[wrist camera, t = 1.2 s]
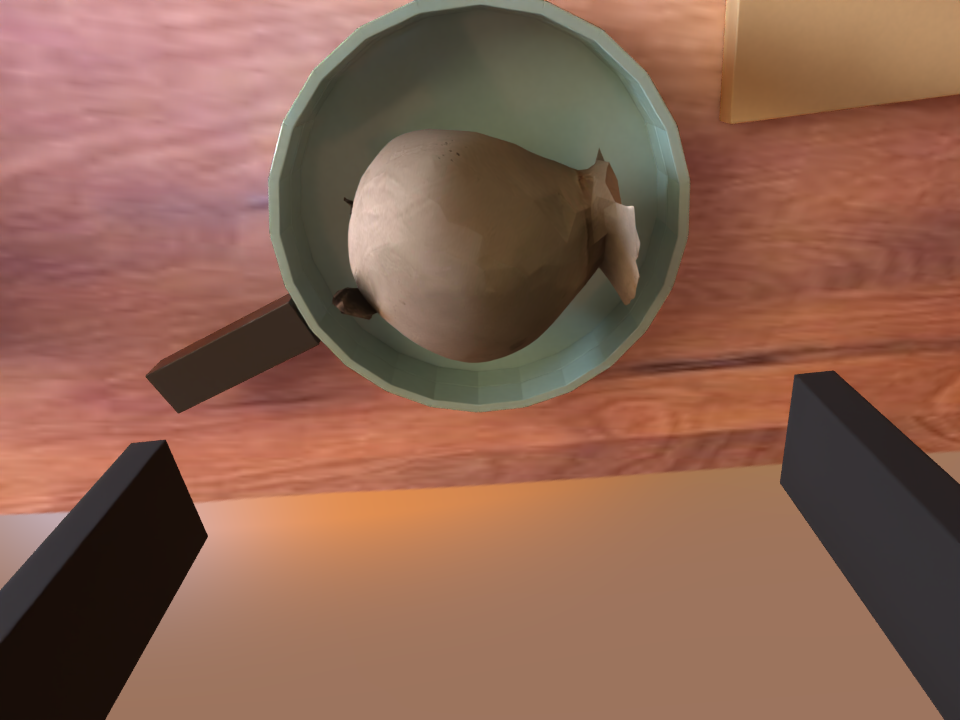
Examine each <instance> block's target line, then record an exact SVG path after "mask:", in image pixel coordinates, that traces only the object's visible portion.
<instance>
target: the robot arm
mask: <svg viewBox="0 0 960 720" xmlns="http://www.w3.org/2000/svg"><path fill="white" fill-rule="evenodd" d="M780 484H781V485H782V486H783V488H784V489H785V491H786V492H787V494H788V495H789V497H790V498H791V499H792V501H793V502H794V504H795V505H796V507H797V508H798V509H799V511H800V512H801V514H802V515H803V517H804V518H805V520H806V521H807V522H808V524H809V525H810V527H811V528H812V530H813V531H814V533H815V534H816V535H817V537H818V538H819V540H820V541H821V542H822V544H823V546H824V547H825V548H826V550H827V551H828V553H829V554H830V556H831V557H832V558H833V560H834V561H835V563H836V564H837V566H838V567H839V569H840V570H841V571H842V573H843V574H844V576H845V577H846V578H847V580H848V582H849V583H850V584H851V586H852V587H853V589H854V590H855V592H856V593H857V595H858V596H859V597H860V599H861V600H862V602H863V603H864V604H865V606H866V607H867V609H868V610H869V612H870V613H871V615H872V616H873V617H874V619H875V620H876V622H877V623H878V625H879V626H880V628H881V629H882V630H883V632H884V633H885V635H886V636H887V638H888V639H889V641H890V642H891V643H892V645H893V646H894V648H895V649H896V651H897V652H898V653H899V655H900V656H901V658H902V659H903V661H904V662H905V663H906V665H907V666H908V668H909V669H910V671H911V672H912V674H913V675H914V677H915V678H916V679H917V681H918V682H919V684H920V685H921V687H922V688H923V690H924V691H925V692H926V694H927V695H928V697H929V698H930V700H931V701H932V702H933V704H934V705H935V707H936V708H937V710H938V711H939V713H940V714H941V715H942V717H943V718H944V720H960V484H959V483H958V482H957V481H955V480H954V479H953V478H952V477H951V476H950V475H949V474H948V473H947V472H945V471H944V470H943V469H942V468H941V467H940V466H939V465H938V464H937V463H935V462H934V461H933V460H932V459H931V458H930V457H929V456H928V455H927V454H926V453H924V452H923V451H922V450H921V449H920V448H919V447H918V446H917V445H916V444H914V443H913V442H912V441H911V440H910V439H909V438H908V437H907V436H906V435H905V434H903V433H902V432H901V431H900V430H899V429H898V428H897V427H896V426H895V425H893V424H892V423H891V422H890V421H889V420H888V419H887V418H886V417H885V416H883V415H882V414H881V413H880V412H879V411H878V410H877V409H876V408H875V407H874V406H872V405H871V404H870V403H869V402H868V401H867V400H866V399H865V398H864V397H862V396H861V395H860V394H859V393H858V392H857V391H856V390H855V389H854V388H852V387H851V386H850V385H849V384H848V383H847V382H846V381H845V380H844V379H843V378H841V377H840V376H839V375H838V374H837V373H836V372H835V371H825V372H815V373H805V374H796V375H795V376H794V383H793V390H792V398H791V405H790V412H789V420H788V427H787V435H786V442H785V449H784V457H783V464H782V471H781V479H780ZM207 537H208V535H207V533H206V531H205V529H204V526H203V524H202V522H201V520H200V517H199V515H198V512H197V510H196V508H195V506H194V503H193V501H192V499H191V496H190V494H189V492H188V490H187V487H186V485H185V483H184V480H183V478H182V476H181V474H180V471H179V469H178V467H177V464H176V462H175V460H174V458H173V455H172V453H171V451H170V449H169V446H168V444H167V442H166V440H158V441H149V442H139V443H131V444H130V445H129V446H128V447H127V449H126V450H125V451H124V452H123V453H122V454H121V455H120V456H119V458H118V459H117V460H116V461H115V462H114V463H113V464H112V465H111V467H110V468H109V469H108V470H107V471H106V472H105V473H104V474H103V476H102V477H101V478H100V479H99V480H98V481H97V482H96V483H95V484H94V486H93V487H92V488H91V489H90V490H89V491H88V492H87V493H86V495H85V496H84V497H83V498H82V499H81V500H80V501H79V502H78V504H77V505H76V506H75V507H74V508H73V509H72V510H71V511H70V513H69V514H68V515H67V516H66V517H65V518H64V519H63V520H62V522H61V523H60V524H59V525H58V526H57V527H56V528H55V530H54V531H53V532H52V533H51V534H50V535H49V536H48V537H47V538H46V539H45V541H44V542H43V543H42V544H41V545H40V546H39V547H38V548H37V550H36V551H35V552H34V553H33V554H32V555H31V556H30V557H29V559H28V560H27V561H26V562H25V563H24V564H23V565H22V567H21V568H20V569H19V570H18V571H17V572H16V573H15V574H14V576H13V577H12V578H11V579H10V580H9V581H8V582H7V583H6V584H5V585H4V587H3V588H2V589H1V590H0V720H105V719H106V717H107V715H108V713H109V712H110V710H111V708H112V706H113V705H114V703H115V701H116V699H117V698H118V696H119V694H120V692H121V690H122V689H123V687H124V685H125V683H126V682H127V680H128V678H129V676H130V674H131V673H132V671H133V669H134V667H135V666H136V664H137V662H138V660H139V658H140V657H141V655H142V653H143V651H144V649H145V648H146V646H147V644H148V642H149V640H150V639H151V637H152V635H153V634H154V632H155V630H156V628H157V626H158V625H159V623H160V621H161V619H162V617H163V616H164V614H165V612H166V610H167V608H168V607H169V605H170V603H171V601H172V600H173V598H174V596H175V594H176V593H177V591H178V589H179V587H180V585H181V584H182V582H183V580H184V578H185V577H186V575H187V573H188V571H189V569H190V568H191V566H192V564H193V562H194V560H195V559H196V557H197V555H198V553H199V552H200V549H201V548H202V546H203V545H204V543H205V541H206V539H207Z"/></svg>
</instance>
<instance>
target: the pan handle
mask: <svg viewBox="0 0 960 720" xmlns="http://www.w3.org/2000/svg"><path fill="white" fill-rule="evenodd" d="M320 341H321V340H320V339H319V338H318V337H317V336H316V335H315V334H314V333H313V332H312V329H310V328H309V326H308V324H307V323H306V321H305V319H304V318H303V316H302V314H301V313H300V311H299V309H298V307H297V306H296V304H295V302H294V301H293V299H292V297H291V296H290V294H287V295H285V296H283V297H282V298H280V299H278V300H276V301H274V302H272V303H270V304H268V305H266V306H264V307H262V308H260V309H258V310H257V311H255V312H253V313H251V314H249V315H247V316H245V317H243V318H241V319H239V320H237V321H235V322H233V323H232V324H230V325H228V326H226V327H224V328H222V329H220V330H218V331H216V332H214V333H212V334H210V335H208V336H207V337H205V338H203V339H201V340H199V341H197V342H195V343H193V344H191V345H189V346H187V347H185V348H184V349H182V350H180V351H178V352H176V353H174V354H172V355H170V356H168V357H166V358H164V359H162V360H161V361H160V362H159V363H158V364H157V365H156V366H155V367H154V368H153V369H152V370H151V371H150V372H149V373H148V374H147V375H146V378H147V379H148V380H149V381H150V382H151V383H152V385H153V386H154V387H155V388H156V389H157V390H158V391H159V392H160V394H161V395H162V396H163V397H164V398H165V399H166V400H167V402H168V403H169V404H170V405H171V406H172V407H173V408H174V409H175V411H176V412H177V413H181V412H183V411H185V410H187V409H189V408H191V407H193V406H195V405H197V404H199V403H201V402H203V401H205V400H207V399H209V398H211V397H213V396H215V395H217V394H219V393H221V392H223V391H225V390H228V389H230V388H232V387H234V386H236V385H238V384H240V383H242V382H244V381H246V380H248V379H250V378H252V377H254V376H256V375H258V374H260V373H262V372H264V371H266V370H268V369H270V368H272V367H274V366H276V365H278V364H280V363H282V362H284V361H286V360H288V359H290V358H292V357H295V356H297V355H299V354H301V353H303V352H305V351H307V350H309V349H311V348H313V347H315V346H317V345H319V343H320Z"/></svg>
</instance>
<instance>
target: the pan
mask: <svg viewBox="0 0 960 720" xmlns="http://www.w3.org/2000/svg"><path fill="white" fill-rule="evenodd" d="M423 129H442V130H459V131H471V132H478V133H481V134H484V135H488V136H491V137H494V138H498V139H501V140H504V141H507V142H511V143H514V144H516V145H518V146H520V147H522V148H524V149H526V150H528V151H530V152H532V153H534V154H537V155H539V156H542V157H544V158H548V159H551V160H554V161H556V162H559V163H561V164H564V165H566V166H568V167H571V168H574V169H577V170H584V169H588V168H589V167H591V166H592V165H594V164H595V162H596V158H597V154H598V150H599V148H600V151H601V153H602V156H603V158H604V161H606V162H609V163H610V165H611V167H612V169H613V171H614V173H615V175H616V178H617V180H618V186H619V192H620V198H621V204H622V205H624V206H634V212H635V226H636V231H637V234H638V237H639V240H640V248H639V256H638V258H637V259H636V264H637V268H638V272H639V275H640V278H639V281H638V284H637V288H636V295H635V298H634V299H631V301H630V304H627V305H624V303H623V302H622V300H621V298H620V297H619V295H618V293H617V292H616V290H615V288H614V287H613V285H612V284H611V282H610V281H609V280H608V278H607V277H606V276H605V274H604V273H603V272H602V271H601V269H600V268H598V269H597V271H596V272H595V273H594V274H593V276H592V277H591V278H590V280H589V281H588V282H587V284H586V285H585V286H584V287H583V288H582V289H581V291H580V292H579V293H578V294H577V295H576V297H575V298H574V299H573V300H572V301H571V303H570V304H569V305H568V306H567V307H566V309H565V310H564V311H563V312H562V313H561V315H560V316H559V317H558V318H557V319H556V320H555V322H554V323H553V324H552V325H551V326H550V327H549V328H548V329H547V330H546V331H545V332H544V333H543V334H542V335H541V336H540V337H539V338H538V339H536V340H535V341H534V342H532V343H531V344H529V345H528V346H526V347H525V348H523V349H521V350H519V351H517V352H515V353H513V354H510V355H508V356H506V357H503V358H499V359H496V360H492V361H488V362H481V363H467V362H461V361H456V360H451V359H448V358H445V357H443V356H440V355H438V354H435V353H433V352H431V351H429V350H427V349H425V348H423V347H421V346H420V345H418V344H416V343H415V342H413V341H412V340H410V339H409V338H407V337H406V336H404V335H403V334H402V333H401V332H400V331H398V330H397V329H396V328H394V327H393V326H392V325H391V324H389V323H388V322H387V321H386V320H385V319H383V318H382V317H381V316H380V315H379V314H378V313H376V314H374V315H372V318H371V319H370V320H368V319H363V318H359V317H355V316H350V315H346V314H341V312H340V310H339V309H338V308H337V307H336V306H335V305H333V304H332V300H333V296H334V295H335V293H336V292H337V291H339V290H341V289H344V288H347V287H349V288H358V287H357V284H356V281H355V278H354V276H353V273H352V270H351V266H350V261H349V250H348V230H349V222H350V218H351V214H350V205H348V204H347V203H346V202H345V201H344V197H345V198H346V199H348V200H352V201H354V198H355V195H356V191H357V188H358V185H359V183H360V180H361V178H362V176H363V174H364V173H365V171H366V170H367V168H368V167H369V165H370V164H371V163H372V161H373V160H374V159H375V157H376V156H377V155H378V154H379V153H380V151H381V150H382V149H383V148H384V147H385V146H386V145H387V144H388V143H389V142H390V141H391V140H393V139H394V138H396V137H398V136H400V135H402V134H404V133H408V132H412V131H416V130H423ZM268 178H269V179H268V196H269V233H270V238H271V241H272V244H273V248H274V251H275V255H276V258H277V261H278V265H279V268H280V272H281V275H282V278H283V282H284V285H285V287H286V289H287V291H288V292H289V294H290V296H291V297H292V299H293V301H294V302H295V304H296V306H297V307H298V309H299V311H300V313H301V314H302V316H303V318H304V319H305V321H306V323H307V324H308V326H309V328H310V329H312V332H313V333H314V334H315V335H316V336H317V337H318V338H319V339H320V340H321V341H322V342H323V343H324V344H325V345H326V346H327V347H328V348H329V349H330V350H331V351H332V352H333V353H334V354H335V355H336V356H337V357H338V358H339V359H340V360H341V361H342V362H343V363H344V364H345V365H346V366H347V367H349V368H350V369H352V370H354V371H355V372H357V373H358V374H360V375H361V376H363V377H365V378H366V379H368V380H369V381H371V382H373V383H374V384H376V385H377V386H379V387H380V388H382V389H384V390H385V391H387V392H390V393H392V394H395V395H398V396H401V397H404V398H407V399H410V400H412V401H415V402H418V403H421V404H424V405H427V406H430V407H435V408H444V409H452V410H461V411H470V412H488V411H497V410H506V409H515V408H524V407H528V406H531V405H534V404H537V403H540V402H543V401H545V400H548V399H551V398H554V397H557V396H560V395H563V394H566V393H569V392H571V391H573V390H574V389H576V388H577V387H579V386H581V385H582V384H584V383H586V382H587V381H589V380H590V379H592V378H594V377H595V376H597V375H598V374H600V373H602V372H603V371H605V370H606V369H608V368H610V367H611V366H612V365H613V364H614V363H615V362H616V361H617V360H618V359H619V358H620V357H621V356H622V355H623V354H624V353H625V352H626V351H627V350H628V349H629V348H630V347H631V346H632V345H633V344H634V343H635V342H636V341H637V340H638V339H639V338H640V337H641V336H642V335H643V334H644V333H645V332H646V331H647V329H648V328H649V326H650V324H651V323H652V321H653V319H654V318H655V316H656V314H657V313H658V311H659V309H660V308H661V306H662V305H663V303H664V301H665V300H666V298H667V296H668V295H669V293H670V291H671V290H672V287H673V285H674V282H675V279H676V275H677V272H678V269H679V266H680V262H681V259H682V256H683V252H684V249H685V246H686V243H687V239H688V233H689V206H690V177H689V173H688V168H687V164H686V160H685V156H684V152H683V147H682V143H681V139H680V135H679V130H678V126H677V124H676V122H675V120H674V118H673V117H672V115H671V113H670V111H669V110H668V108H667V106H666V104H665V102H664V101H663V99H662V97H661V95H660V94H659V92H658V90H657V88H656V87H655V85H654V83H653V81H652V79H651V78H650V76H649V74H648V73H647V71H646V70H645V69H644V68H643V67H641V66H640V65H639V64H638V63H637V62H636V61H635V60H634V59H633V58H632V57H631V56H630V55H629V54H628V53H627V52H626V51H625V50H624V49H623V48H622V47H621V46H620V45H619V44H618V43H616V42H615V41H614V40H613V39H612V38H611V37H610V36H609V35H608V34H607V33H606V32H605V31H604V30H602V29H601V28H599V27H597V26H595V25H593V24H591V23H589V22H587V21H585V20H583V19H581V18H579V17H577V16H575V15H573V14H571V13H569V12H568V11H566V10H564V9H562V8H560V7H558V6H556V5H554V4H552V3H550V2H548V1H544V0H414V1H412V2H410V3H408V4H406V5H404V6H402V7H399V8H397V9H395V10H393V11H391V12H389V13H387V14H385V15H383V16H381V17H379V18H377V19H375V20H373V21H371V22H368V23H366V24H364V25H362V26H360V27H359V28H357V29H356V30H355V31H354V32H353V33H352V34H351V35H350V36H349V37H348V38H346V39H345V40H344V41H343V42H342V43H341V44H340V45H339V46H338V47H337V48H336V49H335V50H334V51H333V52H331V53H330V54H329V55H328V56H327V57H326V58H325V59H324V60H323V61H322V62H321V63H320V64H319V65H318V66H316V67H315V68H314V69H313V71H312V72H311V74H310V76H309V77H308V79H307V81H306V82H305V84H304V86H303V88H302V89H301V91H300V93H299V94H298V96H297V98H296V100H295V101H294V103H293V105H292V106H291V108H290V110H289V112H288V113H287V115H286V117H285V118H284V120H283V123H282V125H281V129H280V133H279V137H278V141H277V145H276V149H275V153H274V157H273V161H272V165H271V169H270V173H269V177H268Z"/></svg>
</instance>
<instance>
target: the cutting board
mask: <svg viewBox="0 0 960 720" xmlns="http://www.w3.org/2000/svg"><path fill="white" fill-rule="evenodd" d="M952 95H960V0H726V12H725V29H724V47H723V64H722V82H721V99H720V117H719V120H720V121H722V122H725V123H729V124H738V123H746V122H754V121H761V120H769V119H776V118H784V117H792V116H799V115H807V114H815V113H822V112H830V111H837V110H845V109H853V108H860V107H868V106H876V105H883V104H891V103H899V102H906V101H914V100H921V99H929V98H937V97H944V96H952Z"/></svg>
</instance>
